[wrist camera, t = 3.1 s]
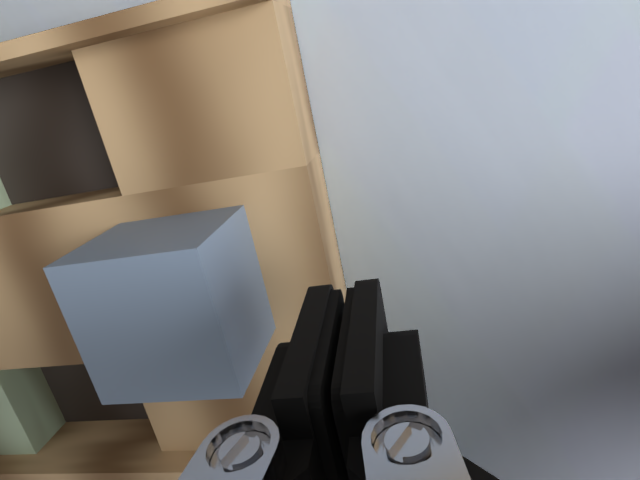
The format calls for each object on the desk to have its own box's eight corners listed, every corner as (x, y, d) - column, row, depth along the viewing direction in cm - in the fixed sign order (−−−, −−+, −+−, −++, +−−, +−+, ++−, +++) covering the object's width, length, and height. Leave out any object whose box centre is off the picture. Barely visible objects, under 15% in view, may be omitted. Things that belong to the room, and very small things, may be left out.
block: (243, 204, 16) (196, 248, 12) (275, 327, 18) (242, 398, 14) (119, 223, 17) (42, 268, 14) (160, 337, 19) (102, 404, 15)
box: (288, -8, 16) (253, -28, 12) (370, 414, 22) (364, 486, 18) (-197, 115, 21) (-325, 127, 17) (-22, 428, 27) (-90, 487, 23)
